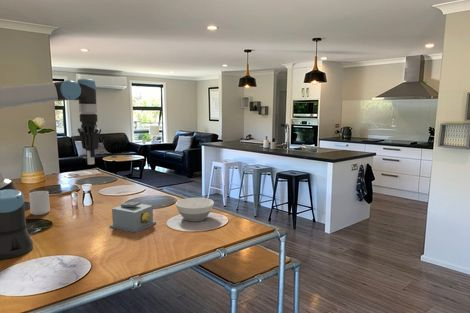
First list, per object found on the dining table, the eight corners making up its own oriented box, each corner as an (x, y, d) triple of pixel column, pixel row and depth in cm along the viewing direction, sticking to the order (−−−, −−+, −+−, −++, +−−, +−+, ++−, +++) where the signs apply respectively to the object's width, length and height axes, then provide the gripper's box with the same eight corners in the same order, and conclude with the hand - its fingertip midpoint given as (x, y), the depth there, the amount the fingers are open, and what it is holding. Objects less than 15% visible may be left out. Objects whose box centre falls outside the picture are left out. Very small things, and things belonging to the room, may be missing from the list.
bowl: (177, 226, 160) (177, 209, 158) (174, 213, 178) (173, 198, 177) (217, 222, 165) (217, 206, 164) (210, 211, 183) (209, 196, 182)
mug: (49, 214, 176) (47, 193, 175) (29, 216, 173) (27, 195, 171) (51, 208, 187) (49, 188, 186) (32, 210, 184) (30, 190, 182)
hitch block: (156, 223, 163) (155, 205, 162) (136, 232, 151) (135, 213, 149) (130, 218, 170) (130, 201, 169) (109, 227, 158) (108, 208, 156)
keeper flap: (140, 204, 160) (140, 202, 160) (133, 206, 155) (133, 204, 155) (128, 204, 163) (128, 202, 163) (120, 206, 159) (120, 204, 159)
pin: (150, 221, 159) (150, 210, 158) (143, 224, 154) (143, 213, 153) (122, 216, 166) (122, 206, 165) (114, 219, 162) (114, 208, 161)
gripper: (105, 113, 155) (107, 163, 158) (85, 113, 161) (87, 161, 164) (91, 113, 148) (94, 166, 152) (71, 113, 154) (74, 164, 157)
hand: (91, 164), depth 158 cm, fingers closed
